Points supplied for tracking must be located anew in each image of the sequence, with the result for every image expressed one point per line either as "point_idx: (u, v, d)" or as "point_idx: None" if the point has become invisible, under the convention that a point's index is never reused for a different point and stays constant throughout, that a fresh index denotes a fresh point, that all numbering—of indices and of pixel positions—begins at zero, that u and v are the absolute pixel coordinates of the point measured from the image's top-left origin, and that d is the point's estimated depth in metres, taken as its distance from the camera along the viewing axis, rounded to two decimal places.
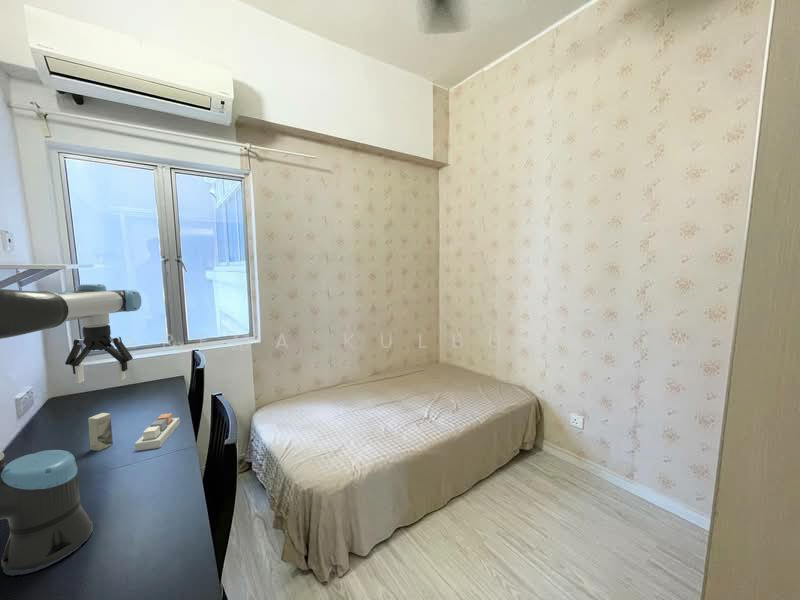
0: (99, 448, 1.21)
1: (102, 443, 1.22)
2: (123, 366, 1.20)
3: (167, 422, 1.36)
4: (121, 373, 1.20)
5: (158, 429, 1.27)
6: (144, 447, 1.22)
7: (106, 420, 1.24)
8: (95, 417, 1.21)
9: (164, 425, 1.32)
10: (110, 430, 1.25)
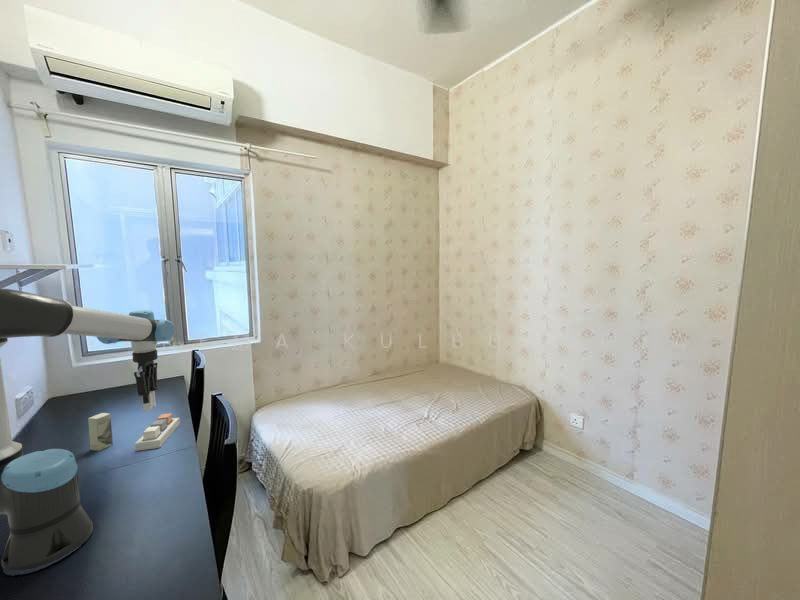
0: (99, 448, 1.21)
1: (102, 443, 1.22)
2: None
3: (167, 422, 1.36)
4: (143, 404, 1.23)
5: (158, 429, 1.27)
6: (144, 447, 1.22)
7: (106, 420, 1.24)
8: (95, 417, 1.21)
9: (164, 425, 1.32)
10: (110, 430, 1.25)
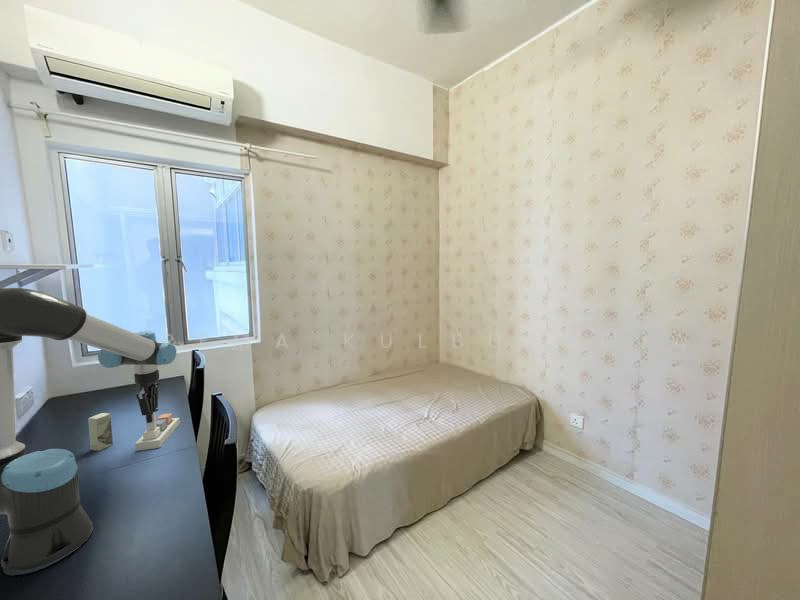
0: (99, 448, 1.21)
1: (102, 443, 1.22)
2: None
3: (167, 422, 1.36)
4: (147, 423, 1.24)
5: (158, 430, 1.27)
6: (144, 447, 1.22)
7: (106, 420, 1.24)
8: (95, 417, 1.21)
9: (164, 425, 1.32)
10: (110, 430, 1.25)
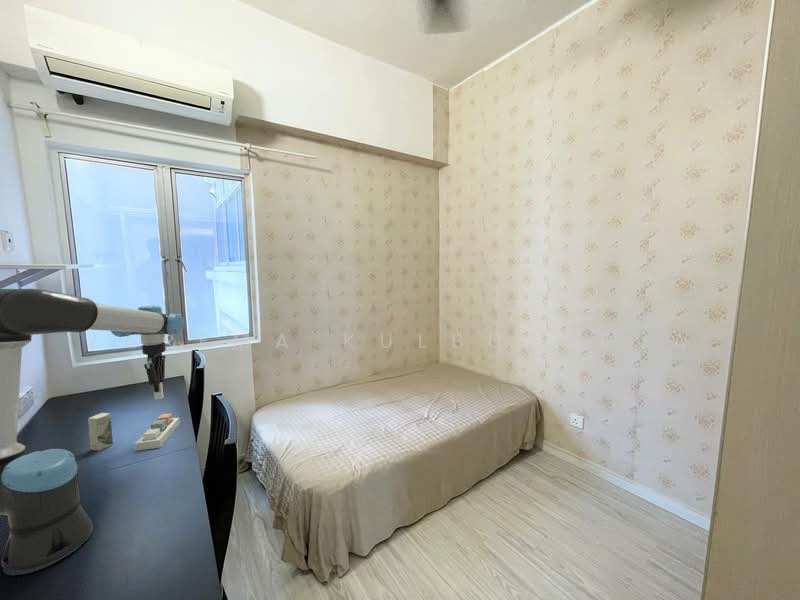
0: (99, 448, 1.21)
1: (102, 443, 1.22)
2: None
3: (167, 422, 1.36)
4: (154, 392, 1.31)
5: (158, 431, 1.27)
6: (144, 447, 1.22)
7: (106, 420, 1.24)
8: (95, 417, 1.21)
9: (164, 425, 1.32)
10: (110, 430, 1.25)
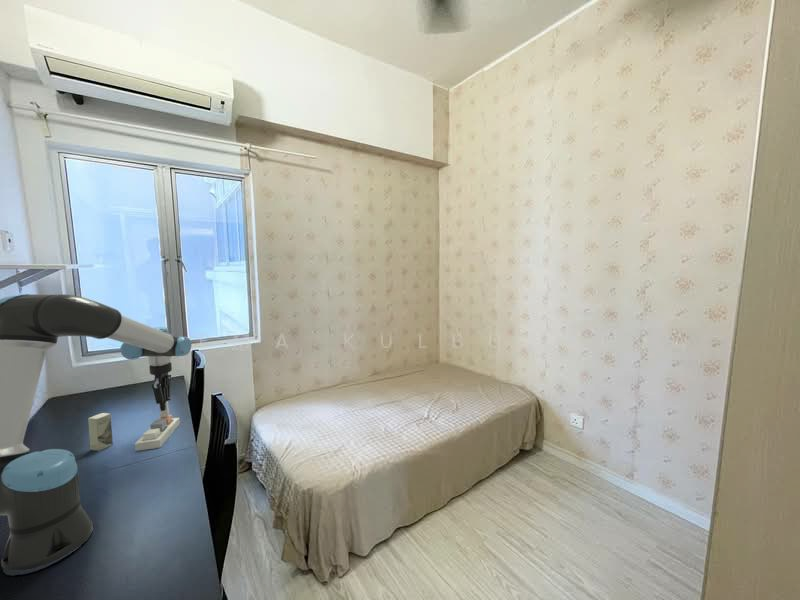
0: (99, 448, 1.21)
1: (102, 443, 1.22)
2: None
3: (167, 423, 1.36)
4: (160, 411, 1.36)
5: (158, 431, 1.27)
6: (144, 447, 1.22)
7: (106, 420, 1.24)
8: (95, 417, 1.21)
9: (164, 425, 1.32)
10: (110, 430, 1.25)
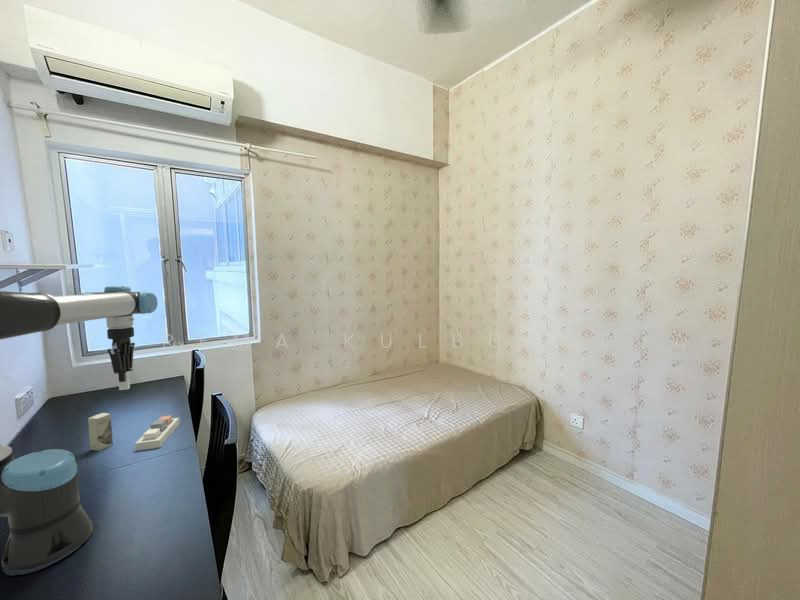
0: (99, 448, 1.21)
1: (102, 443, 1.22)
2: None
3: (167, 424, 1.36)
4: (119, 382, 1.19)
5: (158, 431, 1.27)
6: (144, 447, 1.22)
7: (106, 420, 1.24)
8: (95, 417, 1.21)
9: (164, 425, 1.32)
10: (110, 430, 1.25)
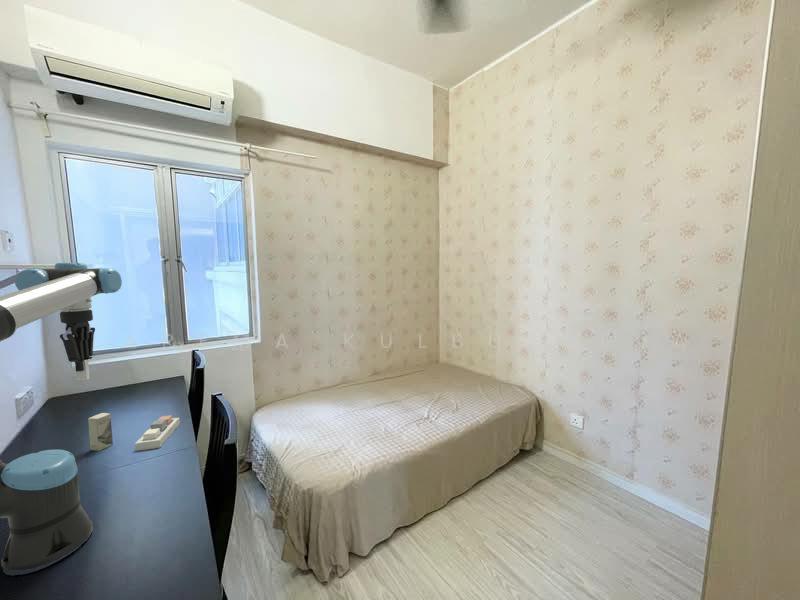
0: (99, 448, 1.21)
1: (102, 443, 1.22)
2: None
3: (167, 424, 1.36)
4: (77, 372, 1.05)
5: (158, 431, 1.27)
6: (144, 447, 1.22)
7: (106, 420, 1.24)
8: (95, 417, 1.21)
9: (164, 425, 1.32)
10: (110, 430, 1.25)
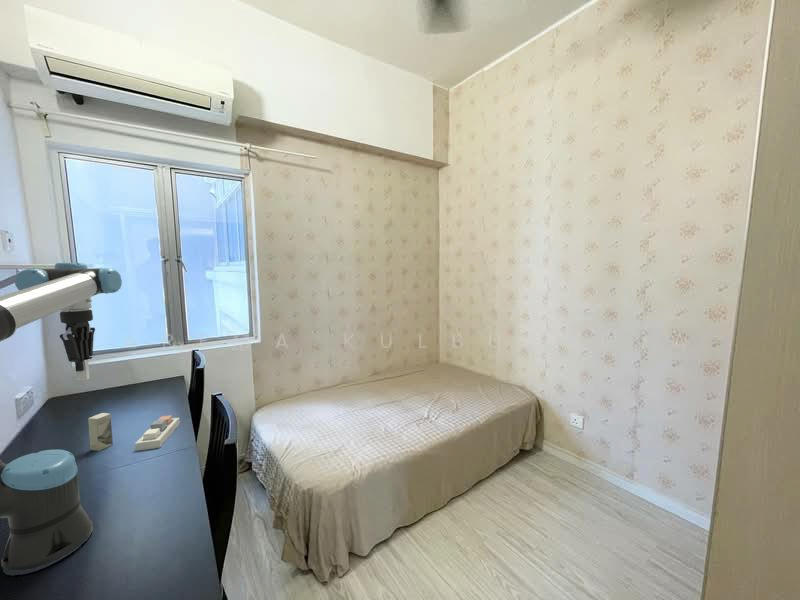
0: (99, 448, 1.21)
1: (102, 443, 1.22)
2: None
3: (167, 424, 1.36)
4: (77, 372, 1.05)
5: (158, 431, 1.27)
6: (144, 447, 1.22)
7: (106, 420, 1.24)
8: (95, 417, 1.21)
9: (164, 425, 1.32)
10: (110, 430, 1.25)
